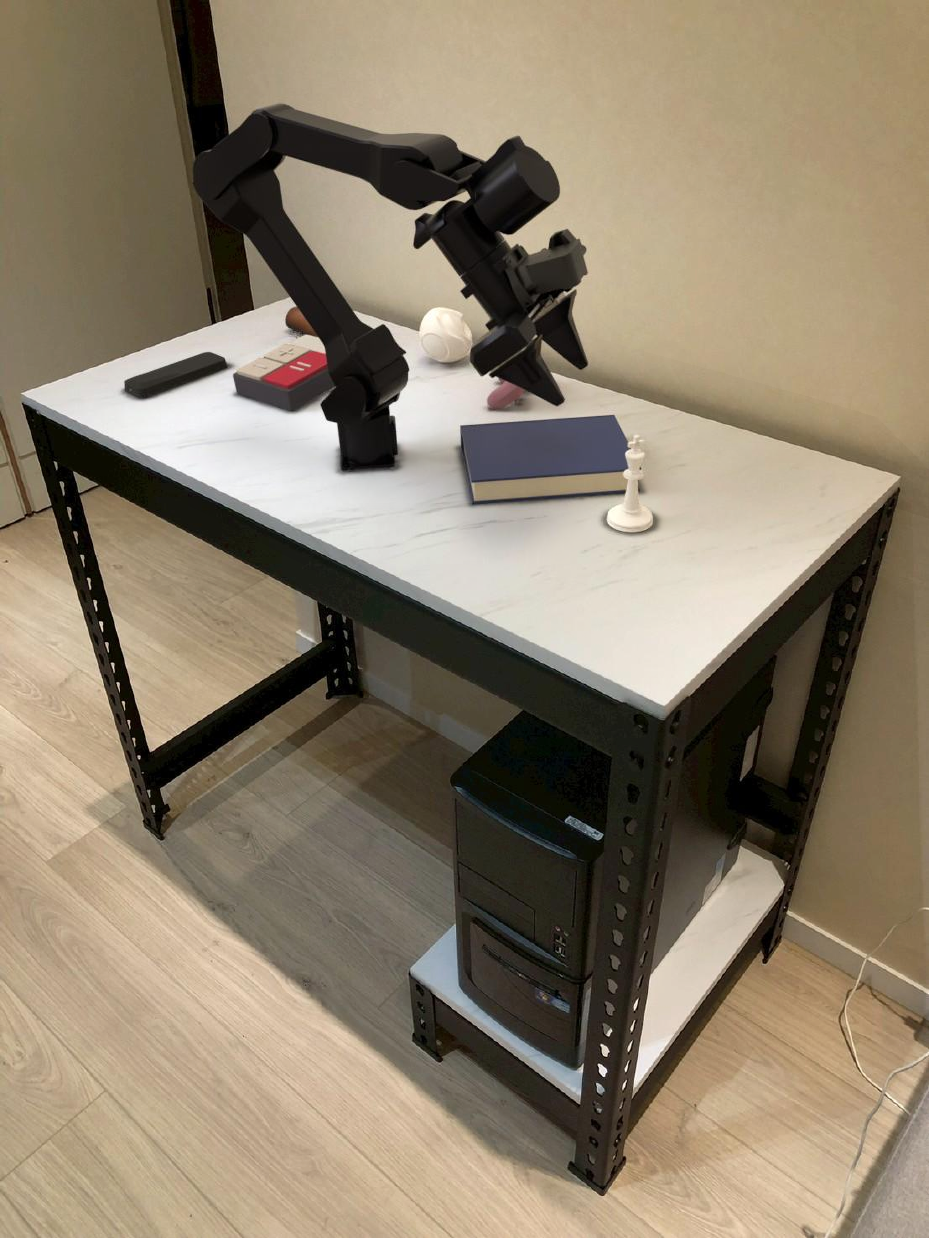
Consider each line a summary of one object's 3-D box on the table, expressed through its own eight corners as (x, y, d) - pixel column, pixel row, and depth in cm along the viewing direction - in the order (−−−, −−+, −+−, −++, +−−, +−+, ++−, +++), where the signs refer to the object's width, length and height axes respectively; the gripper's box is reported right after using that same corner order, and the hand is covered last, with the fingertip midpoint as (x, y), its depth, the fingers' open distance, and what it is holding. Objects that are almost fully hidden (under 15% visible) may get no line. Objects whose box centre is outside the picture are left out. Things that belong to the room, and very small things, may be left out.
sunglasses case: (395, 345, 147) (372, 313, 142) (364, 379, 146) (340, 347, 141) (330, 315, 159) (307, 284, 154) (301, 346, 158) (277, 316, 153)
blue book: (472, 504, 110) (471, 480, 108) (460, 447, 121) (460, 425, 119) (639, 491, 111) (641, 468, 109) (612, 436, 122) (614, 414, 120)
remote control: (211, 362, 147) (121, 390, 138) (209, 350, 146) (119, 378, 137) (230, 370, 144) (140, 399, 135) (228, 358, 143) (138, 387, 134)
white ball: (472, 370, 140) (471, 317, 135) (419, 372, 140) (416, 319, 135) (473, 349, 146) (471, 298, 142) (422, 351, 146) (419, 299, 142)
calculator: (229, 369, 134) (305, 329, 143) (236, 398, 136) (309, 357, 145) (287, 386, 128) (362, 344, 137) (293, 416, 131) (365, 372, 140)
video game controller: (513, 422, 129) (538, 379, 125) (483, 406, 129) (506, 362, 125) (525, 392, 137) (548, 350, 133) (496, 376, 137) (518, 334, 132)
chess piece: (598, 515, 107) (603, 431, 101) (637, 505, 108) (644, 421, 102) (621, 536, 103) (628, 451, 97) (661, 526, 105) (670, 440, 99)
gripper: (513, 239, 86) (614, 383, 90) (570, 184, 99) (655, 311, 104) (426, 308, 92) (524, 438, 97) (490, 248, 106) (574, 364, 111)
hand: (573, 385), depth 102 cm, fingers open, 9 cm apart
